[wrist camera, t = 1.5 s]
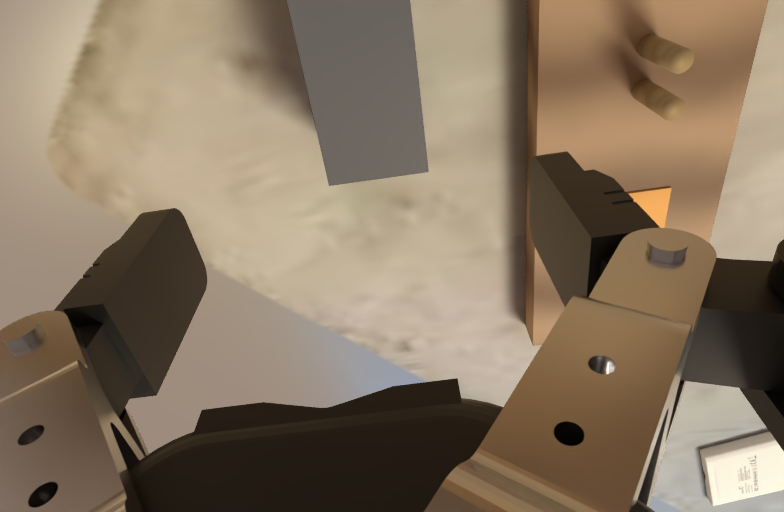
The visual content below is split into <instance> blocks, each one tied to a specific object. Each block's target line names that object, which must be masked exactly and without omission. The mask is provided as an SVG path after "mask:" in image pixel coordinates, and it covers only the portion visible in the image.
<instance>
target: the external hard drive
mask: <svg viewBox="0 0 784 512" xmlns="http://www.w3.org/2000/svg"><path fill="white" fill-rule="evenodd" d="M700 454H701V460H702V466H703V471H704V473H705V476H706V479H705V485H706V491H707V497H708V499H709V501H710V503H711V505H712V506H715V505H720V504H724V503H727V502H732V501H736V500H741V499H745V498H750V497H754V496H758V495H763V494H767V493H772V492H776V491H780V490H784V451H783V450H782V448H781V447H780V445H779V444H778V443H777V441H776V440H775V438H774V437H773V435H772V434H771V433H770V431H768V432H764V433H760V434H756V435H753V436H749V437H745V438H741V439H737V440H734V441H730V442H726V443H722V444H719V445H715V446H711V447H707V448H703V449H700Z"/></svg>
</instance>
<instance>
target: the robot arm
mask: <svg viewBox="0 0 784 512" xmlns="http://www.w3.org/2000/svg"><path fill="white" fill-rule="evenodd" d="M529 219H530V231H531V236H532V240H533V243H534V246H535V248H536V250H537V252H538V254H539V256H540V258H541V260H542V262H543V264H544V266H545V268H546V270H547V272H548V274H549V276H550V278H551V280H552V282H553V284H554V286H555V288H556V290H557V292H558V294H559V296H560V298H561V300H562V302H563V304H564V306H565V309H564V310H563V312H562V313H561V315H560V317H559V318H558V320H557V322H556V323H555V325H554V326H553V328H552V330H551V331H550V333H549V334H548V336H547V338H546V339H545V341H544V343H543V344H542V346H541V347H540V349H539V351H538V352H537V354H536V355H535V357H534V359H533V360H532V362H531V364H530V365H529V367H528V368H527V370H526V372H525V373H524V375H523V377H522V378H521V380H520V381H519V383H518V385H517V386H516V388H515V389H514V391H513V393H512V394H511V396H510V398H509V399H508V401H507V402H506V404H505V406H504V407H501V406H497V405H494V404H491V403H487V402H482V401H477V400H472V399H463V398H461V396H460V390H459V385H458V379H449V380H441V381H433V382H425V383H417V384H409V385H400V386H393V387H390V388H387V389H384V390H381V391H378V392H375V393H372V394H369V395H366V396H363V397H360V398H357V399H354V400H351V401H348V402H345V403H342V404H339V405H336V406H333V407H329V408H315V407H304V406H294V405H284V404H274V403H264V402H263V403H255V404H247V405H239V406H230V407H222V408H215V409H206V410H202V411H201V414H200V417H199V420H198V422H197V425H196V428H195V431H194V432H192V433H189V434H187V435H184V436H182V437H180V438H178V439H175V440H173V441H171V442H169V443H167V444H165V445H164V446H162V447H160V448H158V449H157V450H155V451H153V452H152V453H150V454H149V452H148V450H147V448H146V446H145V443H144V441H143V439H142V437H141V434H140V432H139V430H138V428H137V426H136V423H135V421H134V419H133V417H132V416H131V414H130V412H129V411H128V409H127V408H126V404H127V402H128V400H129V399H131V398H139V397H147V396H154V395H157V393H158V391H159V389H160V387H161V384H162V383H163V380H164V378H165V376H166V373H167V372H168V370H169V367H170V365H171V363H172V361H173V359H174V357H175V355H176V352H177V350H178V348H179V346H180V344H181V342H182V340H183V337H184V335H185V333H186V331H187V329H188V327H189V324H190V322H191V320H192V318H193V316H194V314H195V312H196V310H197V307H198V305H199V303H200V301H201V299H202V297H203V295H204V292H205V290H206V285H207V274H206V268H205V265H204V262H203V260H202V258H201V255H200V253H199V251H198V248H197V246H196V244H195V241H194V239H193V236H192V234H191V232H190V229H189V227H188V225H187V222H186V220H185V218H184V216H183V214H182V213H181V212H180V211H179V210H178V209H175V208H173V209H166V210H159V211H153V212H146V213H142V214H140V215H139V216H138V218H137V219H136V220H135V221H134V223H133V224H132V225H131V226H130V227H129V229H128V230H127V231H126V232H125V234H124V235H123V236H122V237H121V239H119V240H118V241H117V242H115V243H114V244H112V245H111V246H109V247H108V248H107V249H105V250H104V251H103V252H102V254H101V255H100V256H99V257H98V258H97V260H96V261H95V262H94V263H93V267H90V268H89V269H88V270H87V271H86V273H85V274H84V275H83V278H82V279H80V280H79V281H78V282H77V284H76V285H75V286H74V287H73V288H72V290H71V291H70V292H69V293H68V294H67V295H66V297H65V298H64V299H63V300H62V301H61V303H60V304H59V305H58V306H57V307H56V309H55V310H53V311H44V312H39V313H35V314H32V315H29V316H26V317H24V318H22V319H19V320H17V321H15V322H13V323H11V324H10V325H8V326H6V327H5V328H3V329H2V330H0V512H654V511H653V510H652V509H650V508H649V504H650V501H651V497H652V494H653V490H654V486H655V483H656V479H657V475H658V472H659V468H660V464H661V461H662V458H663V454H664V451H665V448H666V445H667V441H668V438H669V435H670V432H671V429H672V425H673V422H674V419H675V416H676V412H677V409H678V406H679V403H680V399H681V396H682V393H683V390H684V386H685V383H686V381H691V382H699V383H707V384H715V385H723V386H731V387H739V388H740V390H741V391H742V393H743V394H744V395H745V397H746V398H747V400H748V401H749V403H750V404H751V405H752V407H753V408H754V410H755V411H756V413H757V414H758V415H759V417H760V418H761V420H762V421H763V423H764V424H765V425H766V427H767V428H768V430H769V431H770V433H771V434H772V435H773V437H774V438H775V440H776V441H777V443H778V444H779V445H780V447H781V448H782V450H783V451H784V240H782V241H781V242H780V243H779V244H778V246H777V249H776V252H775V255H774V259H773V262H772V261H753V260H733V259H721V258H716V256H717V255H716V251H715V250H714V248H713V247H712V245H711V244H710V243H708V242H707V241H706V240H704V239H703V238H701V237H699V236H697V235H694V234H692V233H689V232H686V231H682V230H677V229H670V228H660V227H659V226H658V225H657V224H656V222H655V221H654V220H653V219H652V218H651V217H650V216H649V215H648V214H647V213H646V212H645V211H644V210H643V209H642V208H641V207H640V206H639V205H638V203H637V202H634V199H633V198H632V197H631V196H630V195H629V194H628V193H627V192H624V189H623V188H622V187H621V186H620V184H619V183H618V182H617V181H616V180H615V179H614V178H612V177H610V176H608V175H606V174H603V173H601V172H599V171H597V170H594V169H593V170H586V171H584V170H583V169H582V167H581V166H580V165H579V164H578V163H577V162H576V160H575V159H574V158H573V157H572V156H571V155H570V153H569V152H567V151H565V152H559V153H552V154H545V155H538V156H533V157H532V158H531V161H530V209H529Z"/></svg>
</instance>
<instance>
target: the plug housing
mask: <svg viewBox="0 0 784 512" xmlns="http://www.w3.org/2000/svg"><path fill="white" fill-rule="evenodd" d="M287 5H288V9H289V13H290V18H291V22H292V26H293V31H294V35H295V39H296V44H297V48H298V52H299V57H300V61H301V66H302V70H303V74H304V79H305V83H306V87H307V92H308V96H309V100H310V105H311V109H312V113H313V118H314V122H315V126H316V131H317V135H318V139H319V144H320V148H321V152H322V157H323V161H324V165H325V170H326V174H327V179H328V183H329V186H332V185H339V184H346V183H353V182H360V181H367V180H375V179H382V178H389V177H396V176H403V175H410V174H417V173H424V172H429V171H428V162H427V153H426V143H425V134H424V125H423V116H422V107H421V97H420V88H419V79H418V70H417V60H416V51H415V42H414V33H413V24H412V14H411V5H410V0H287Z"/></svg>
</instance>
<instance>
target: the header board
mask: <svg viewBox="0 0 784 512" xmlns="http://www.w3.org/2000/svg"><path fill="white" fill-rule="evenodd" d="M767 3H768V0H528V63H527V194H526V324H525V325H526V328H527V331H528V334H529V336H530V339H531V342H532V344H533V346H535V345H542V344H543V343H544V341H545V339H546V338H547V336H548V334H549V333H550V331H551V330H552V328H553V326H554V325H555V323H556V322H557V320H558V318H559V317H560V315H561V313H562V312H563V310H564V309H565V306H564V304H563V302H562V300H561V298H560V296H559V294H558V292H557V290H556V288H555V286H554V284H553V282H552V280H551V278H550V276H549V274H548V272H547V270H546V268H545V266H544V264H543V262H542V260H541V258H540V256H539V254H538V252H537V250H536V248H535V246H534V243H533V240H532V236H531V231H530V219H529V209H530V161H531V158H532V157H533V156H538V155H545V154H552V153H559V152H565V151H567V152H569V153H570V155H571V156H572V157H573V158H574V159H575V160H576V162H577V163H578V164H579V165H580V166H581V167H582V169H583V170H584V171H586V170H593V169H594V170H597V171H599V172H601V173H603V174H606V175H608V176H610V177H612V178H614V179H615V180H616V181H617V182H618V183H619V184H620V186H621V187H622V188H623V189H624V192H627V193H628V194H629V195H630V196H631V197H632V198H633V199H634V202H637V203H638V205H639V206H640V207H641V208H642V209H643V210H644V211H645V212H646V213H647V214H648V215H649V216H650V217H651V218H652V219H653V220H654V221H655V222H656V224H657V225H658V226H659V227H660V228H670V229H677V230H682V231H686V232H689V233H692V234H694V235H697V236H699V237H701V238H703V239H704V240H706V241H707V242H708V243H709V241H710V236H711V232H712V228H713V224H714V220H715V216H716V212H717V208H718V204H719V200H720V195H721V191H722V187H723V183H724V179H725V175H726V171H727V167H728V163H729V159H730V155H731V150H732V146H733V142H734V138H735V134H736V130H737V126H738V122H739V118H740V114H741V109H742V105H743V101H744V97H745V93H746V89H747V85H748V81H749V77H750V73H751V69H752V64H753V60H754V56H755V52H756V48H757V44H758V40H759V36H760V32H761V28H762V23H763V19H764V15H765V11H766V7H767Z"/></svg>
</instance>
